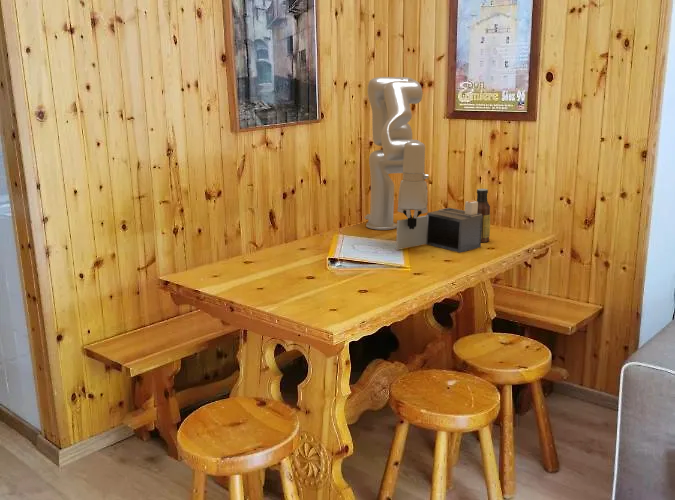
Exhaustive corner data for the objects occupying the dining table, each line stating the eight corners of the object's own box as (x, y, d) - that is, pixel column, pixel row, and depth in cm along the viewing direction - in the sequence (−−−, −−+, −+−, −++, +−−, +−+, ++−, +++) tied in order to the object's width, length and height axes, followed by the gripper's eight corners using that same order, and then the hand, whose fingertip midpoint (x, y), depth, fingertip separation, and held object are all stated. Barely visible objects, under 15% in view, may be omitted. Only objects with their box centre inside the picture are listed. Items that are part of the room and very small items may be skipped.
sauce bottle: (488, 239, 275) (491, 188, 269) (490, 243, 269) (493, 191, 263) (471, 238, 275) (474, 187, 270) (472, 242, 269) (475, 190, 264)
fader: (464, 214, 259) (465, 200, 258) (470, 212, 262) (471, 199, 260) (471, 215, 257) (472, 201, 256) (477, 214, 259) (478, 200, 258)
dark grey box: (426, 244, 266) (427, 211, 263) (446, 239, 274) (448, 207, 271) (460, 252, 254) (462, 218, 251) (480, 247, 262) (482, 214, 259)
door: (423, 242, 266) (425, 214, 264) (427, 243, 265) (429, 215, 262) (394, 248, 258) (394, 219, 255) (398, 249, 256) (398, 220, 253)
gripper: (435, 176, 253) (433, 227, 257) (393, 175, 256) (392, 225, 260) (434, 179, 245) (432, 231, 250) (390, 178, 248) (389, 229, 253)
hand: (411, 228), depth 255 cm, fingers closed
